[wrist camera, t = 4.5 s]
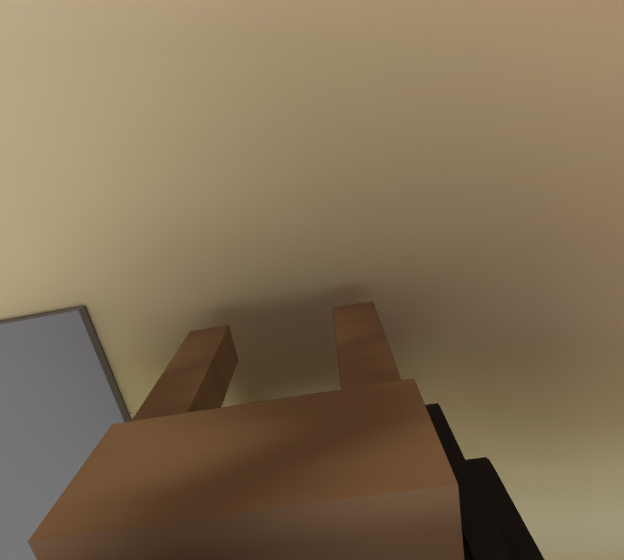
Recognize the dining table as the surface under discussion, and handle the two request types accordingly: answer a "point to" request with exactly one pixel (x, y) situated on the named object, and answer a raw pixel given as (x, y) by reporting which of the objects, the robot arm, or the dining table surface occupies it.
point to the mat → (48, 415)
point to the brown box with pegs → (265, 468)
